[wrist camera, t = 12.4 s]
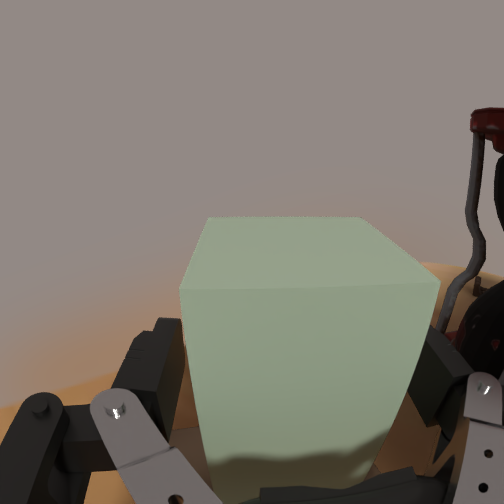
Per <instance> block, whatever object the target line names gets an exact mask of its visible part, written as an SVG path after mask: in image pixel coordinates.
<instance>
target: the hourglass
mask: <svg viewBox="0 0 504 504" xmlns="http://www.w3.org/2000/svg"><path fill="white" fill-rule="evenodd" d="M471 117H472V118H471V119H470V130H471V132H473V148H472V160H471V170H470V179H469V188H468V195H467V201H466V207H465V215H466V222H467V226H468V228H469V231H470V233H471V235H472V237H473V254H472V258H471V260H470V262H469V264H468V266H467V268H466V270H465V271H464V272H462V273H461V274H460V275H458V276H457V277H456V278H455V279H454V280H453V282H452V283H451V284H450V286H449V287H448V289H447V293H446V296H445V300H444V303H443V306H442V310H441V313H440V316H439V319H438V322H437V325H436V328H435V329H436V330H437V331H439V332H440V333H442V334H443V335H445V336H446V338H447V339H448V340H449V341H450V342H451V345H453V346H454V347H455V348H456V350H457V352H459V353H460V354H461V356H462V357H463V358H464V359H465V361H466V362H467V363H468V364H469V366H470V367H471V368H472V369H473V371H474V372H485V373H488V374H490V375H492V376H494V377H495V378H496V379H497V380H498V381H499V382H500V384H501V385H504V280H503V281H501V282H500V283H498V284H496V285H495V286H493V287H491V288H490V289H488V290H487V291H485V292H484V293H483V294H481V295H480V296H478V298H477V299H476V300H475V301H474V302H473V303H472V304H471V305H470V306H469V308H468V310H467V311H466V313H465V315H464V317H463V319H462V321H461V323H460V326H459V328H458V331H453V332H447V333H445V331H446V328H447V326H448V323H449V320H450V317H451V314H452V311H453V308H454V305H455V301H456V298H457V295H458V293H459V291H460V290H461V289H462V288H463V286H464V285H465V284H466V282H468V281H469V280H471V279H472V278H474V277H475V276H477V275H478V273H479V271H480V269H481V268H482V266H483V264H484V262H485V260H486V240H485V238H484V236H483V234H482V232H481V230H480V228H479V222H478V216H477V208H478V202H479V195H480V188H481V179H482V170H483V161H484V148H485V147H484V146H485V139H487V140H490V141H492V143H493V148H494V150H495V151H496V152H499V153H501V154H504V108H483V109H477V110H474V111H473V113H472V114H471ZM494 201H495V206H496V210H497V215H498V218H499V220H500V223H501V226H502V228H503V231H504V155H503V156H502V157H500V158H499V159H498V162H497V164H496V170H495V179H494Z"/></svg>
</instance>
